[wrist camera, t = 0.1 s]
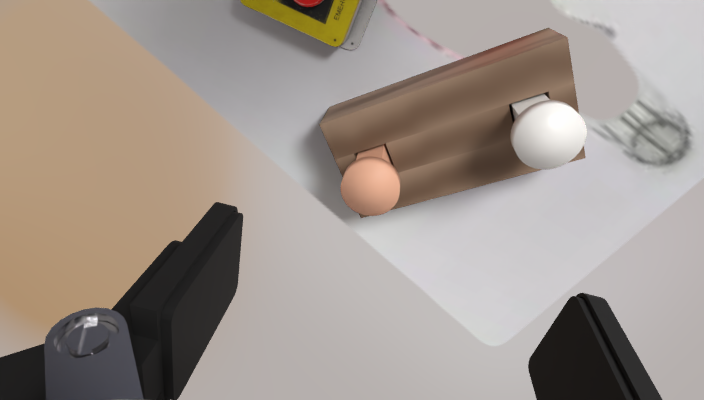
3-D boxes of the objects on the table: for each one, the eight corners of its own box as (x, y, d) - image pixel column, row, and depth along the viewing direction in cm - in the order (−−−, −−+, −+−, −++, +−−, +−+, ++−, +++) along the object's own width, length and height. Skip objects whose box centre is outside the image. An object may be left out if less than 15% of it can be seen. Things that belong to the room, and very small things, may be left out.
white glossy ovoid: (493, 93, 40) (507, 118, 34) (553, 73, 39) (581, 96, 32) (505, 144, 43) (521, 177, 36) (562, 127, 41) (590, 158, 34)
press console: (329, 106, 48) (319, 124, 43) (548, 27, 41) (567, 37, 36) (366, 193, 53) (360, 218, 48) (566, 135, 46) (585, 157, 41)
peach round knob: (343, 142, 45) (331, 173, 38) (392, 126, 43) (388, 156, 37) (361, 186, 47) (353, 221, 41) (408, 172, 46) (407, 207, 39)
